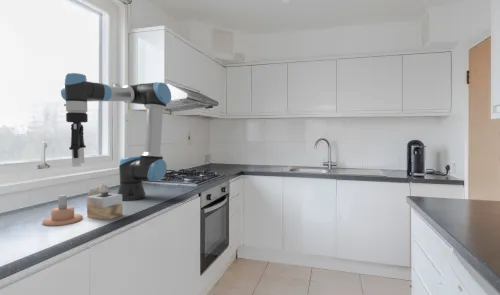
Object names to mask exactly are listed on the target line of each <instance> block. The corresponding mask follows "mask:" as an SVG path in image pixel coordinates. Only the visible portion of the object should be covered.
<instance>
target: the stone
mask: <svg viewBox="0 0 500 295" xmlns="http://www.w3.org/2000/svg"><path fill="white" fill-rule="evenodd" d="M101 192H108V193H111V192H110V187H109V186H107V184H105V183H100V184H97V185H96V186H93V188H91V189H89V191H88V192H87V197H88V196H93V195H98V194H101Z"/></svg>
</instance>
